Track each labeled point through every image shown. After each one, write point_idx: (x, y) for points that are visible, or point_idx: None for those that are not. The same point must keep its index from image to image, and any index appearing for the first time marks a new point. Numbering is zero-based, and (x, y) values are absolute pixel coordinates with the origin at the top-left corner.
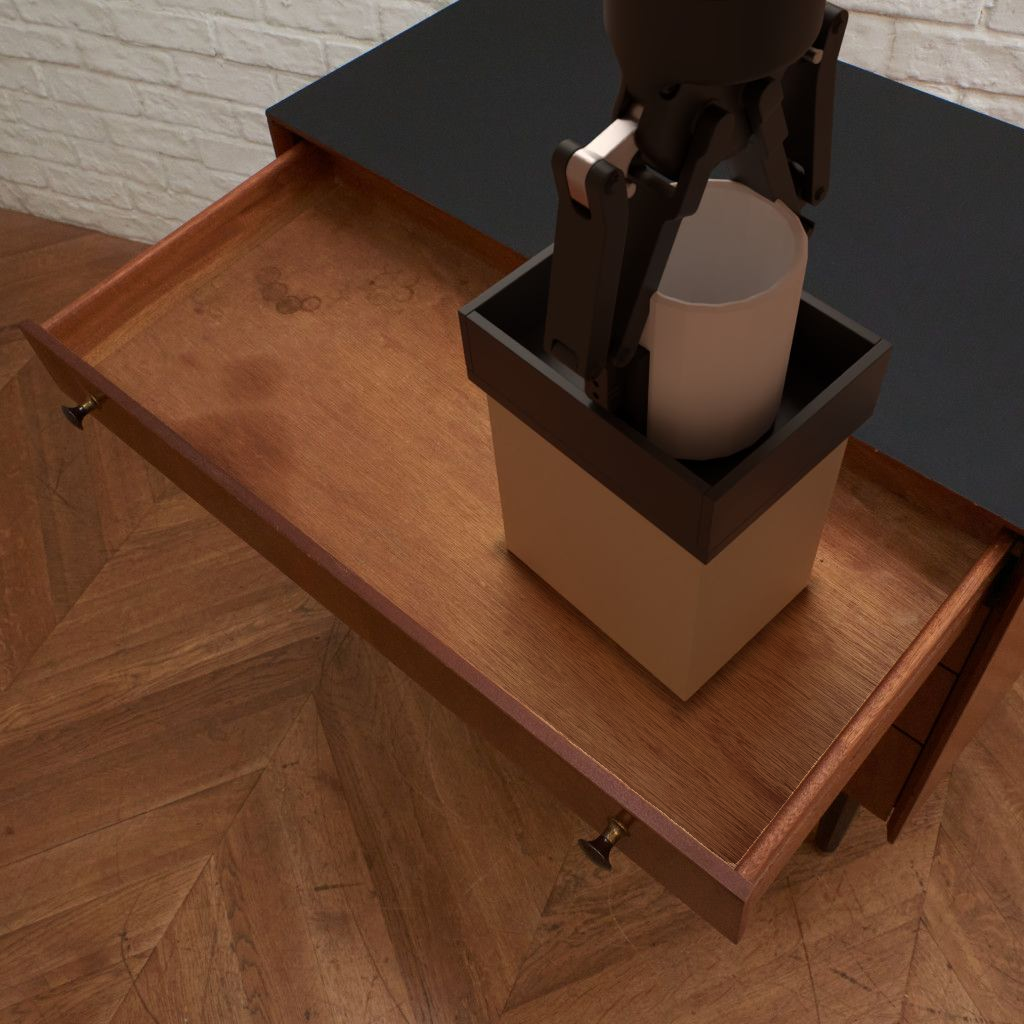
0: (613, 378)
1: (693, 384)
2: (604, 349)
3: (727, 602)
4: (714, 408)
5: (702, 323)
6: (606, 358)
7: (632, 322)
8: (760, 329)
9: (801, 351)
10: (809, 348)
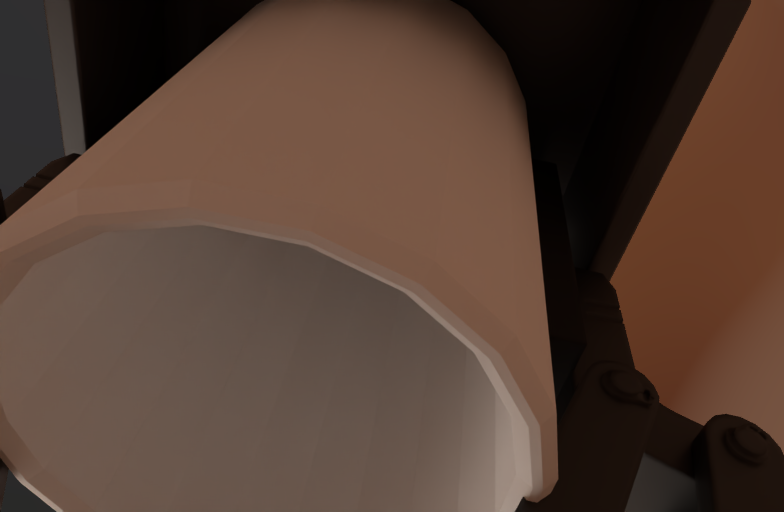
0: (609, 343)
1: (526, 192)
2: (729, 481)
3: None
4: (498, 105)
5: (533, 336)
6: (706, 442)
7: (616, 472)
8: (394, 160)
9: (148, 13)
10: (137, 1)
